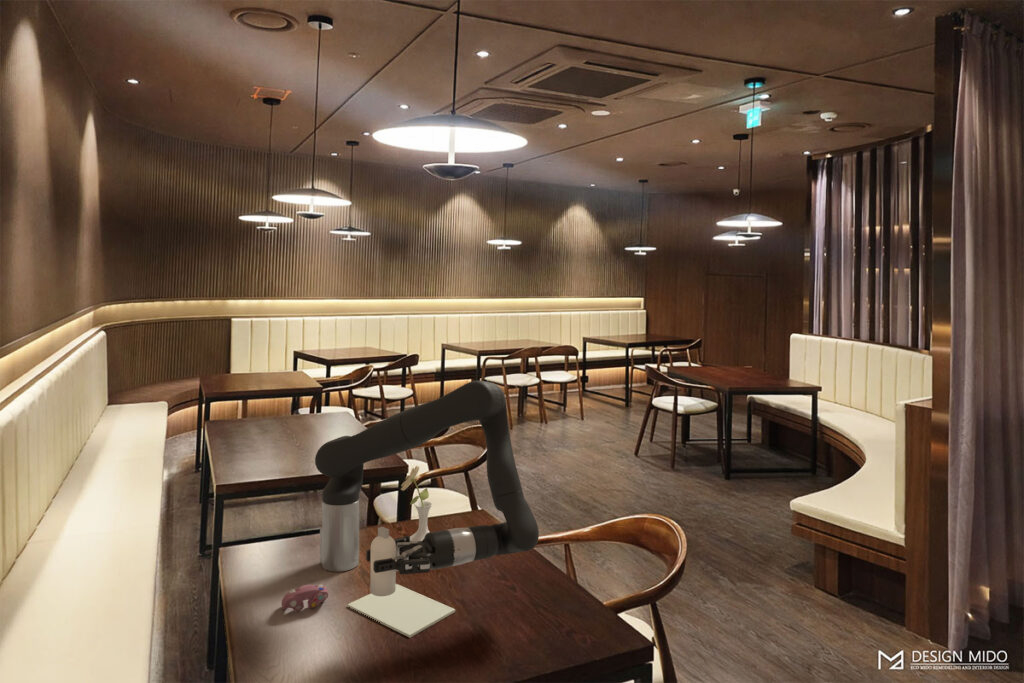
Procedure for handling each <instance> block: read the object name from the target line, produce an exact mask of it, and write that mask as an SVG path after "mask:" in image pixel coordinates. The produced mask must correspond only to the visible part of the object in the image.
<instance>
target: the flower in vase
mask: <svg viewBox="0 0 1024 683" xmlns="http://www.w3.org/2000/svg"><path fill="white" fill-rule="evenodd" d="M419 471H420V466H418V465H415V467H412V469H411V470H410V473H409V474H408V475H406V477H405V480H404V481H403V482H402V484H401V485H400V487H401V488H400V490H401V491H403V492H404V491H405V490H406V489H407V488H408V487H409V486H410V485H412V483H414V485H415V487H416V490H417V492H418V495H416V496H414V497H413V498H412V499H411V501H410V504H409V505H414V507H415V509H416V510H417V513H418V529H417V531H415V533H414V534H412V535H410V541H423V539H424V538H425V535H426V534H427V533H429V532H430V530H429V528H428V517H429V512H430V510H431V508H432V506H433V505H434V504H433V502H432V501H429V500H426V499H429V496H430V494H429V491H428V488H427V487H426V488H424V490H422V491H421V492H420V490H419V486H418V485H417V482H416V480H415V478H416V477H417V475H418V473H419ZM418 499H419V501H418Z"/></svg>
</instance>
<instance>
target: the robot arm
mask: <svg viewBox="0 0 1024 683" xmlns="http://www.w3.org/2000/svg"><path fill="white" fill-rule="evenodd" d="M506 401H507V400H506V396H505V393H504V391H503V389H502V387H500V386H499V385H498V384H495V383H494V382H490V381H485V380H473V381H470V382H467V383H465V384H463V385H461V386H459V387H457V388H455V389H454V390H452V391H450V392H448V393H446V394H445V395H443V396H441V397H439V398H436V399H434V400H432V401H431V400H430V401H428V402H425V403H421V404H419V405H416V406H414V407H411V408H407V409H404V410H403V411H400V412H397V413H395V414H393V415H391V416H389V417H386V418H384V419H382V420H380V421H378V422H377V423H374V424H373V425H371V426H368V428H365V429H364V430H363V431H360V432H357V433H356V434H353V435H343V436H339V437H337V438H334V439H332V440H329V441H327V442H325V443H323V444H322V445H321V446H320V447H319V448H318V450H317V451H316V455H315V458H314V464H315V467H316V469H317V471H318V472H320V474H322V475H323V476H325V477H329V480H328V482H327V484H326V485H325V486H324V488H323V489H322V492H321V493H322V494H321V495H322V496H321V498H322V499H321V500H322V501H321V503H322V504H321V508H322V511H321V513H322V516H321V521H322V522H321V523H322V526H321V527H320V528H319V563H320V564H321V567H322V568H323V569H324V570H326V571H329V572H337V573H338V572H345V571H349V570H353V569H354V568H356V567H357V566H358V565H360V564H359V563H360V562H359V561H360V493H361V490H362V488H363V482H364V481H363V480H364V464H365V463H369V462H371V461H374V460H379V459H383V458H388V457H390V456H394V455H398V454H400V453H403V452H406V451H409V450H411V449H414V448H417V447H419V446H422V445H423V444H426V443H427V442H429V441H430V440H432V439H433V438H435V437H436V436H437V435H438V434H440V433H441V432H442V431H444V430H446V429H448V428H449V429H450V428H451V427H454V426H457V425H461V424H464V423H469V422H475V421H479V423H480V426H481V427H482V431H483V434H484V438H485V444H486V474H487V476H486V477H487V481H488V485H489V490H490V494H491V497H492V502H493V505H494V507H495V509H496V510H497V511H500V512H501V513H502V514H503V516H504V519H505V522H500V523H496V524H491V525H489V524H481V525H476V526H475V525H474V526H469V527H468V526H467V527H456V528H455V527H454V528H449V529H443V530H436V531H429V533H427V534H426V535H425V538H424V539H423V541H410V537H411V535H410V536H409V535H406V536H402V537H398V538H393V539H394V541H395V543H396V557H395V558H394V560H393V559H392V558H389V559H383V560H377V561H374V563H373V570H374V572H375V573H379V572H384V571H390V570H394V571H396V572H398V574H399V575H411V574H425V573H426V574H427V573H430V571H431V570H440V569H445V568H450V567H451V568H452V567H455V566H460V565H465V564H466V563H469V562H475V561H480V560H485V559H488V558H492V557H495V556H503V555H509V554H517V553H524V552H529V551H531V550H533V549H534V548H535V547H536V546H537V544H538V542H539V539H540V538H539V536H540V532H539V526H538V523H537V520H536V518H535V516H534V514H533V512H532V510H531V507H530V506H529V504H528V502H527V500H526V498H525V496H524V491H523V487H522V483H521V479H520V475H519V473H518V468H517V465H516V460H515V456H514V451H513V446H512V440H511V435H510V428H509V427H510V425H509V419H508V408H507V407H508V406H507V402H506ZM400 552H401V553H400ZM365 560H366V561H367V562H368V563H369V562H370V563H371V549H367V550H366V552H365Z"/></svg>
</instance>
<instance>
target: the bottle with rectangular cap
mask: <svg viewBox="0 0 1024 683" xmlns="http://www.w3.org/2000/svg"><path fill="white" fill-rule="evenodd" d="M394 539H395V538H393V537H392V536H391V535H390V529H389V528H387V527H384V526H380V527H377V536H376V537H374V538H373V540H372V542H371V543H370V544H371V545H370V550H371V561H370V572H369V573H370V579H369V580H370V587H369V588H370V589H369V590H370V591H369V592H370V594H373V595H375V596H388V595H391V594H393V593H394V592H395V590H396V584H397V583H396V581H397V580H396V579H397V578H396V577H397V575H396V574H397V571H394V570H390V571H384V572H379V573H375V572H374V570H373V563H374V561H377V560H383V559H389V558H392V559H393V560H394V558H395V557H396V543H395V541H394Z"/></svg>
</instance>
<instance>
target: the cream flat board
mask: <svg viewBox="0 0 1024 683" xmlns="http://www.w3.org/2000/svg"><path fill="white" fill-rule="evenodd" d="M349 607H350V608H349ZM347 608H349V609H351V610H353V609H354V610H353V611H355V610H356V611H355V612H357V611H358V614H361V613H362V614H361V615H363V614H364V615H363V616H365V615H366V616H365V617H367V616H368V618H369V617H370V618H369V619H371V618H372V619H371V620H373V619H374V620H373V621H375V620H376V621H375V622H377V621H378V622H377V623H379V622H380V623H379V624H381V625H383V626H386V627H387V628H389V629H392V630H393V631H395V632H397V633H399V634H401V635H404V636H406V637H408V638H409V639H410V638H412V637H414V636H416V635H417V634H419V633H420V632H422V631H424V630H426V629H428V628H429V627H432V626H434V625H435V624H436V623H438V622H440V621H442V620H443V619H445V618H447V617H448V616H450V615H452V614H454V613H455V612H456V609H455V608H453V607H450V606H449V605H446V604H443V603H442V602H440V601H437V600H435V599H432V598H429V597H428V596H426V595H423V594H420V593H418V592H416V591H414V590H412V589H409V588H407V587H405V586H403V585H400V584H398V583H396V590H395V592H394V593H393V594H391V595H388V596H375V595H373V594H371V593H368V594H367V595H364V596H362V597H361V598H358V599H356V600H354V601H352V602H350V603H348V604H347Z"/></svg>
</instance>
